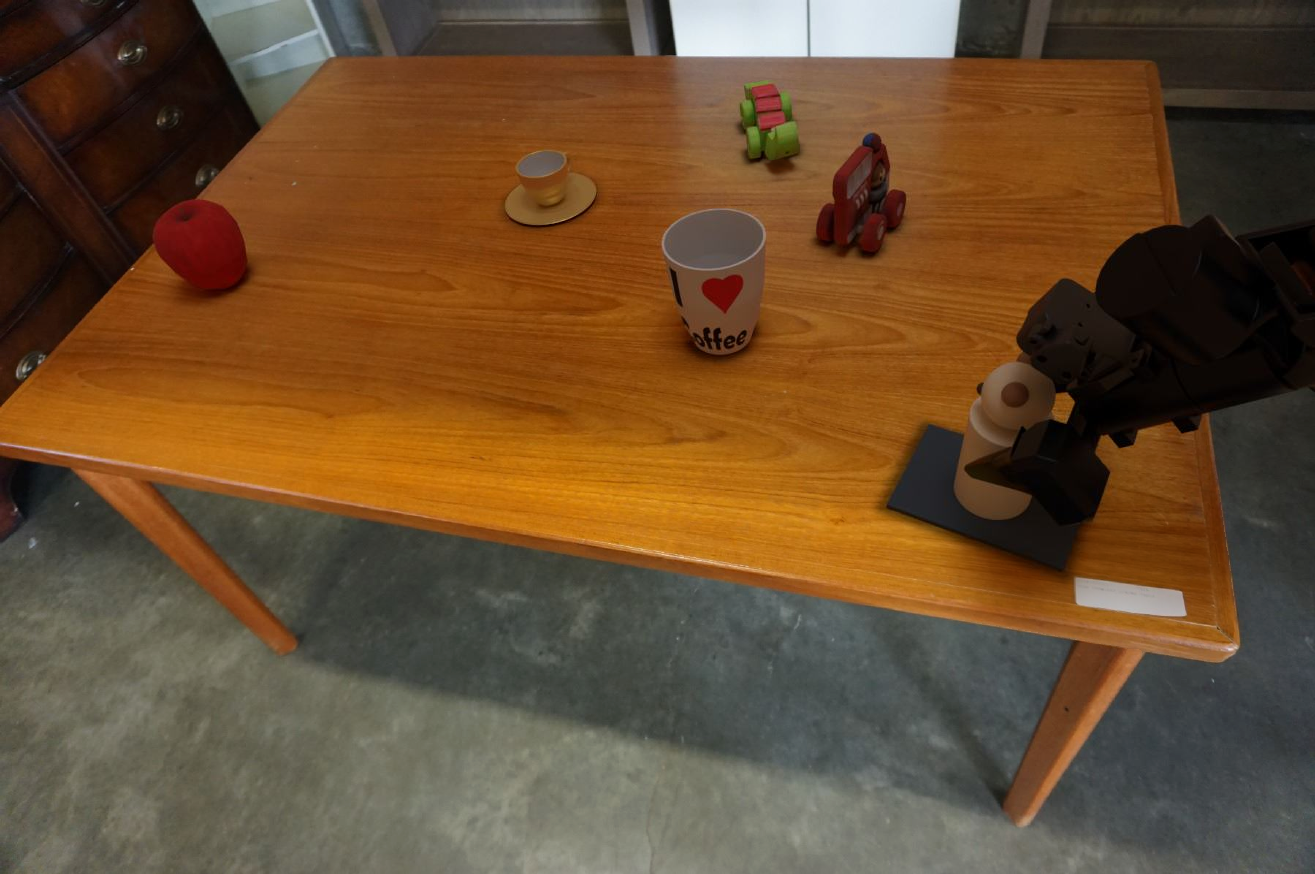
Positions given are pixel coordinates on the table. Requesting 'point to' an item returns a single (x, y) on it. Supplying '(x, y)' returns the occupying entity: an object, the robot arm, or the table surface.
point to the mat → (935, 502)
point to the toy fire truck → (862, 198)
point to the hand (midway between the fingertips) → (987, 430)
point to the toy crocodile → (768, 121)
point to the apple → (201, 244)
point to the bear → (1001, 433)
